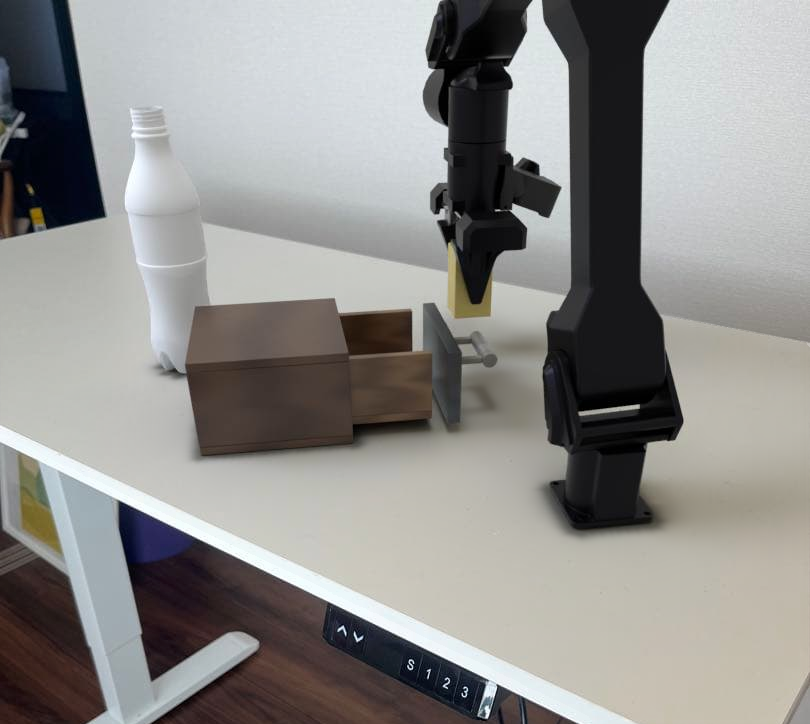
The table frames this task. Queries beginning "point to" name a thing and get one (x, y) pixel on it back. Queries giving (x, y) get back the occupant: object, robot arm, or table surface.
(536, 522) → the table surface
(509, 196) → the robot arm
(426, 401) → the drawer
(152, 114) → the water bottle
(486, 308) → the block
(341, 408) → the cabinet
